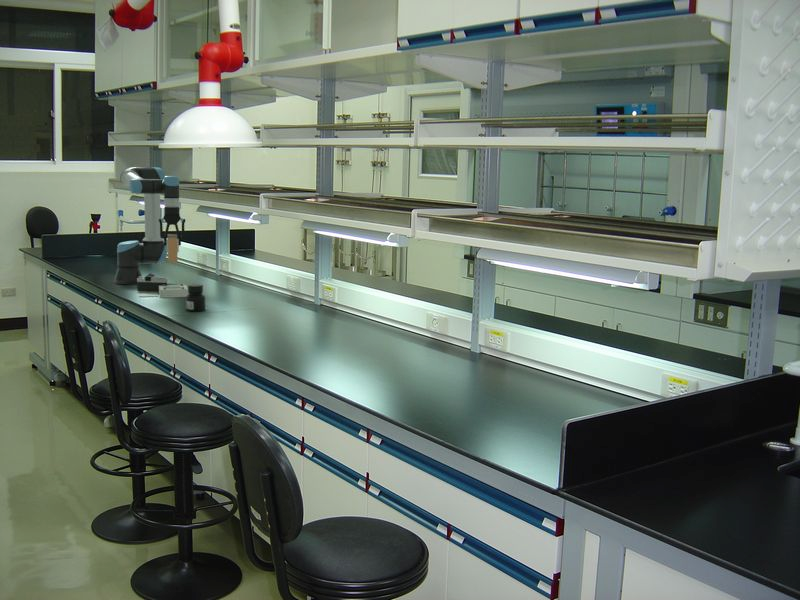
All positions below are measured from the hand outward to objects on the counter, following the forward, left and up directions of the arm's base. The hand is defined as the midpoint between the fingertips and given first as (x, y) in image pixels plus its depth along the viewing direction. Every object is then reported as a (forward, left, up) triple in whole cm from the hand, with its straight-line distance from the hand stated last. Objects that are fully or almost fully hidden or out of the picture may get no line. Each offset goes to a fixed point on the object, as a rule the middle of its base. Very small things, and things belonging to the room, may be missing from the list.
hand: (172, 251), depth 416 cm
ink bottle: (+46, +8, -23) cm, 52 cm away
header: (0, 0, -23) cm, 23 cm away
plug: (0, 0, -5) cm, 5 cm away
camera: (-12, -10, -23) cm, 28 cm away
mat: (0, -12, -23) cm, 26 cm away
